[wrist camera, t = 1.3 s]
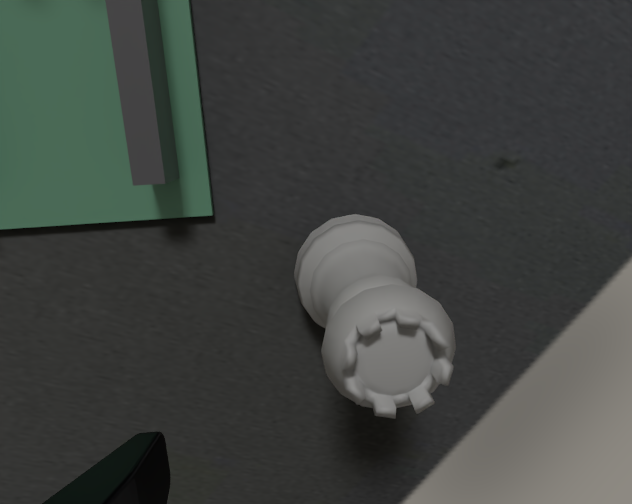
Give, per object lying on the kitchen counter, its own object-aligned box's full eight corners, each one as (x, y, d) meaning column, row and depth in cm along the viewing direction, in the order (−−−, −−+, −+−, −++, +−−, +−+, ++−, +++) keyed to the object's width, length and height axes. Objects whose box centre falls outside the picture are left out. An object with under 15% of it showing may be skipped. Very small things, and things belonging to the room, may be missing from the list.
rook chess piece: (320, 341, 19) (341, 482, 11) (275, 239, 18) (264, 319, 10) (425, 298, 19) (520, 412, 11) (385, 193, 18) (460, 238, 10)
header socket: (214, 214, 18) (193, 236, 14) (-67, 232, 17) (-168, 260, 13) (166, -213, 14) (122, -336, 11) (-177, -201, 14) (-349, -325, 10)
